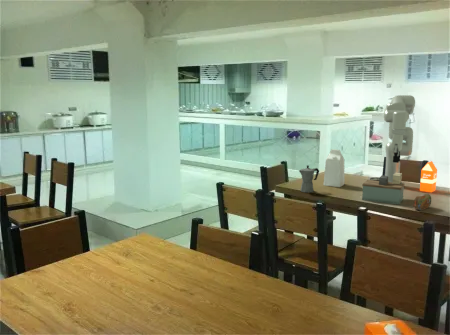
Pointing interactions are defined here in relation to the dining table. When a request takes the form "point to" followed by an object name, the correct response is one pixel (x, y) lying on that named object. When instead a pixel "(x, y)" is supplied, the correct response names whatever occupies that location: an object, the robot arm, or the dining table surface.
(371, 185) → the lid
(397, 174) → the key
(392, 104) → the robot arm
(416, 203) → the tin
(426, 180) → the orange juice
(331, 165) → the milk
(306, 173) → the coffeepot
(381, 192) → the toolbox
